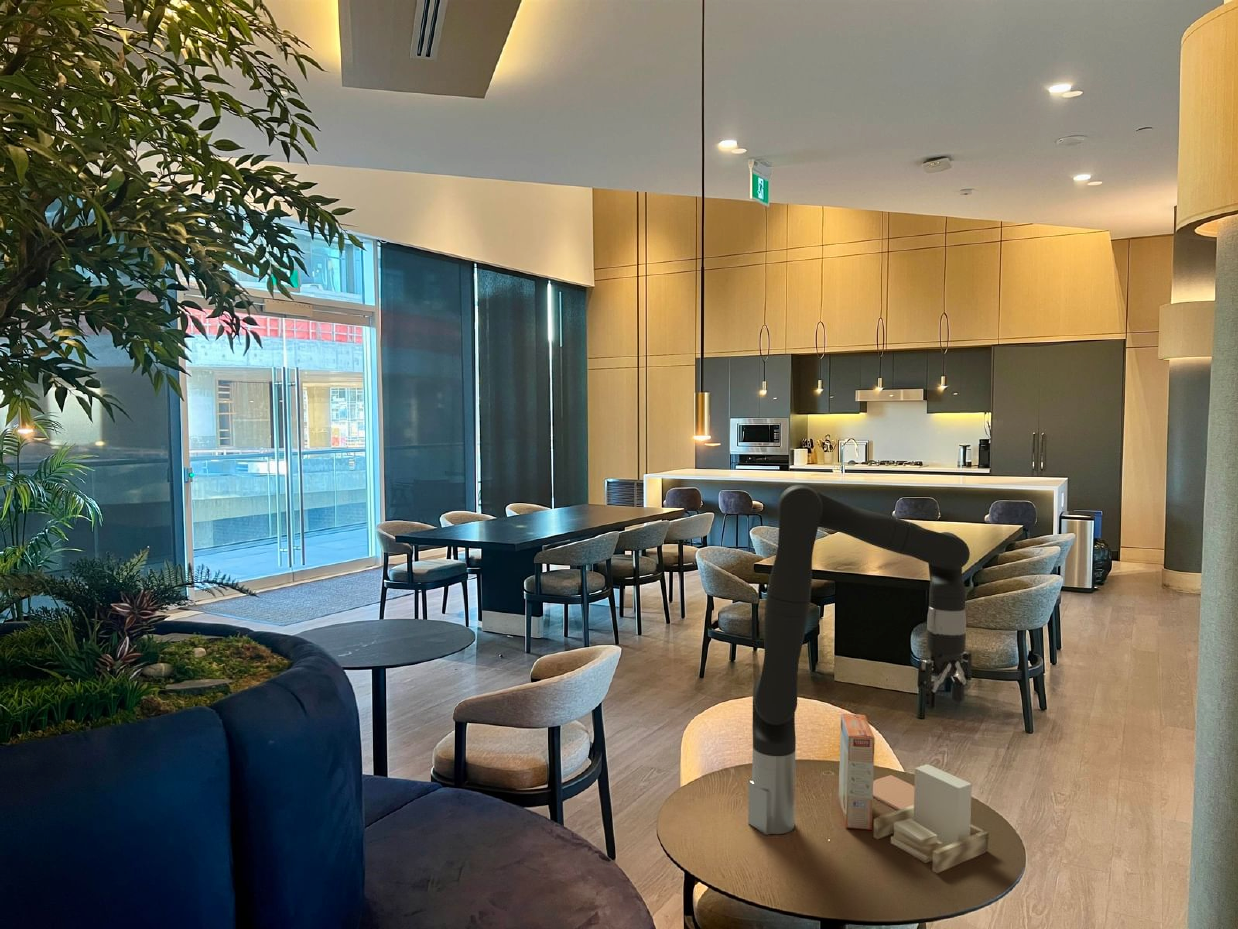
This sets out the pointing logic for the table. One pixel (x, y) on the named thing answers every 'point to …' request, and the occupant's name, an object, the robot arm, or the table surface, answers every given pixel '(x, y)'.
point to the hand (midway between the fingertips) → (944, 704)
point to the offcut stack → (915, 839)
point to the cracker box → (856, 771)
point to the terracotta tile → (893, 792)
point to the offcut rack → (946, 854)
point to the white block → (942, 804)
